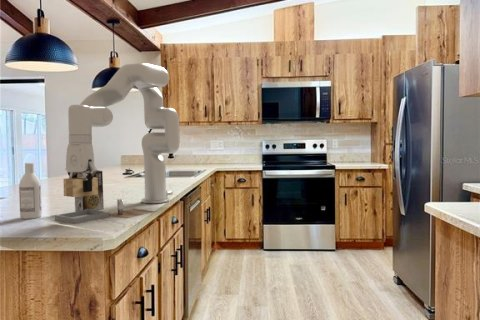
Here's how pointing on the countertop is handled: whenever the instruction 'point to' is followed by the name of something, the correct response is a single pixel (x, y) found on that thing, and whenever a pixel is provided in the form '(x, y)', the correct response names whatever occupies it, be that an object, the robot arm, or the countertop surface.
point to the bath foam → (30, 194)
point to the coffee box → (91, 196)
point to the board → (131, 213)
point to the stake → (120, 206)
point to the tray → (69, 217)
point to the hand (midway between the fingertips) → (81, 190)
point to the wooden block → (79, 187)
